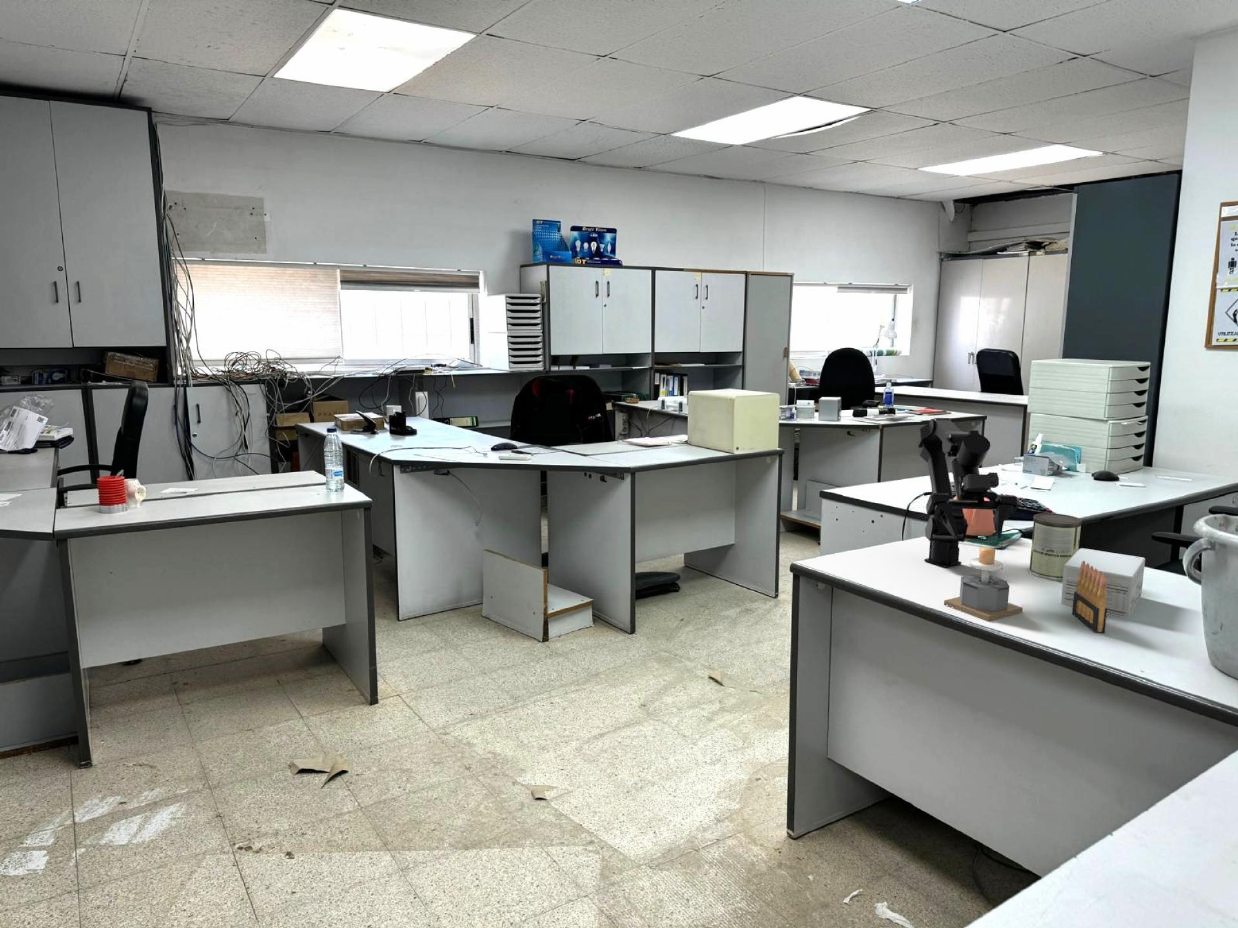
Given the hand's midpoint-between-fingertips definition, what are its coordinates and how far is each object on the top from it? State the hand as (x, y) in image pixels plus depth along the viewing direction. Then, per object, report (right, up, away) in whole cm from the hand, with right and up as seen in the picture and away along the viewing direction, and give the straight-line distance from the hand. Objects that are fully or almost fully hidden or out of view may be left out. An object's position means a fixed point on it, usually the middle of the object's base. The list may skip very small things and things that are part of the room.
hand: (977, 537), depth 181 cm
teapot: (+22, -4, +55) cm, 60 cm away
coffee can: (+26, -11, +19) cm, 34 cm away
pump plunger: (-1, -10, -6) cm, 12 cm away
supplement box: (+27, -14, 0) cm, 31 cm away
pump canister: (-1, -15, -5) cm, 16 cm away
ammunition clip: (+17, -16, -13) cm, 27 cm away
